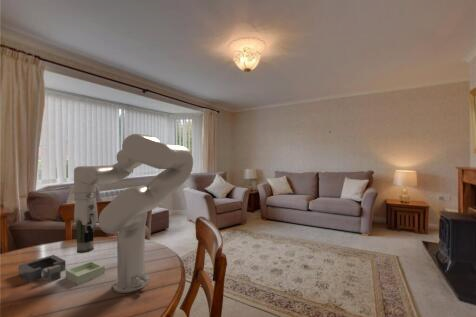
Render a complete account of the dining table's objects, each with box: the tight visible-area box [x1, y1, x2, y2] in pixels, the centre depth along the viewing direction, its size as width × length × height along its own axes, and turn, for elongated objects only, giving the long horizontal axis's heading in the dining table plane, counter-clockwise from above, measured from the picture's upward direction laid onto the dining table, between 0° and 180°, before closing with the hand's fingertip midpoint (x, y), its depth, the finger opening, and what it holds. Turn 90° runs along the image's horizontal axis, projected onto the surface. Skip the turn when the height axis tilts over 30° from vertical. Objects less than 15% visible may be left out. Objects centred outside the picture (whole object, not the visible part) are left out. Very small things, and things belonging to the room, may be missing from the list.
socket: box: [18, 254, 66, 284], centre depth 97 cm, size 12×12×4 cm
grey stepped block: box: [42, 265, 62, 283], centre depth 92 cm, size 8×4×5 cm, turn 58°
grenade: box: [74, 218, 95, 254], centre depth 94 cm, size 6×6×15 cm
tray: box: [65, 260, 106, 286], centre depth 94 cm, size 10×10×3 cm
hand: (85, 239), depth 94 cm, fingers closed on grenade, 5 cm apart
